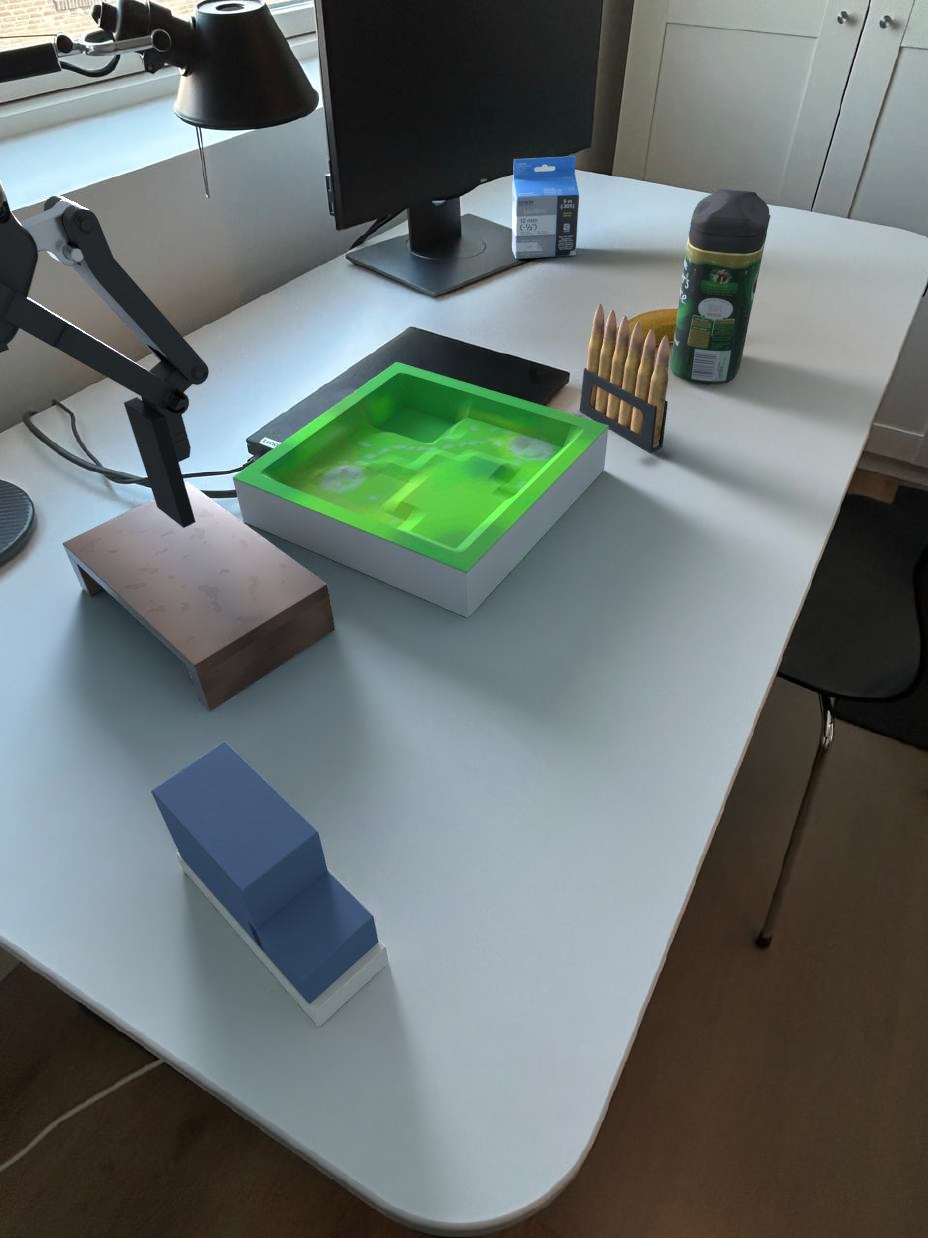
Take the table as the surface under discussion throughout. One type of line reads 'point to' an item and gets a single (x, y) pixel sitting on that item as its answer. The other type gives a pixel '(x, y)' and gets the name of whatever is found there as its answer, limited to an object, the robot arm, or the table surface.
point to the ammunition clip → (626, 382)
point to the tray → (425, 483)
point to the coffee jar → (718, 285)
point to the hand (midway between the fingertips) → (60, 574)
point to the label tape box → (544, 208)
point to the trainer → (270, 880)
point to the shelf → (206, 591)
